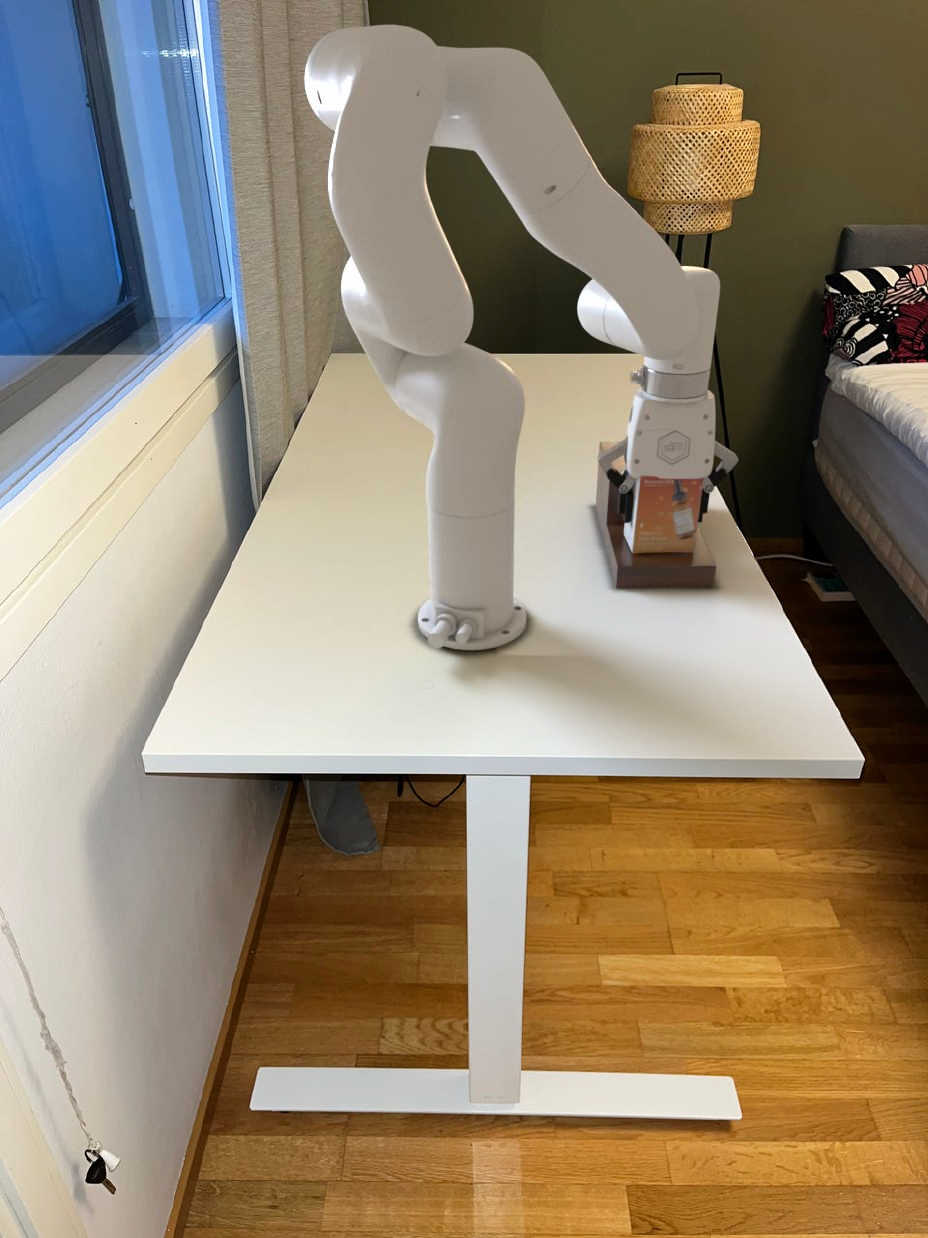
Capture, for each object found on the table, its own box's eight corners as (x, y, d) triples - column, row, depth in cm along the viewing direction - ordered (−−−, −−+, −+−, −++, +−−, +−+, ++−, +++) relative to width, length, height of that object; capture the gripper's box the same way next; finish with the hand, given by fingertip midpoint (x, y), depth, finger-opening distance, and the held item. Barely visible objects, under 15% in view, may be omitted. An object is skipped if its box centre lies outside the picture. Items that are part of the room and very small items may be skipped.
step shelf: (713, 587, 117) (723, 513, 112) (616, 588, 117) (621, 514, 112) (678, 506, 137) (685, 440, 132) (595, 507, 138) (599, 441, 132)
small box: (631, 555, 118) (638, 475, 113) (622, 535, 123) (629, 458, 117) (695, 553, 118) (705, 474, 113) (684, 533, 123) (693, 456, 118)
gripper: (603, 391, 107) (594, 531, 116) (759, 390, 106) (737, 531, 115) (596, 372, 113) (588, 506, 122) (743, 371, 113) (724, 505, 122)
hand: (661, 517), depth 119 cm, fingers closed on small box, 8 cm apart
